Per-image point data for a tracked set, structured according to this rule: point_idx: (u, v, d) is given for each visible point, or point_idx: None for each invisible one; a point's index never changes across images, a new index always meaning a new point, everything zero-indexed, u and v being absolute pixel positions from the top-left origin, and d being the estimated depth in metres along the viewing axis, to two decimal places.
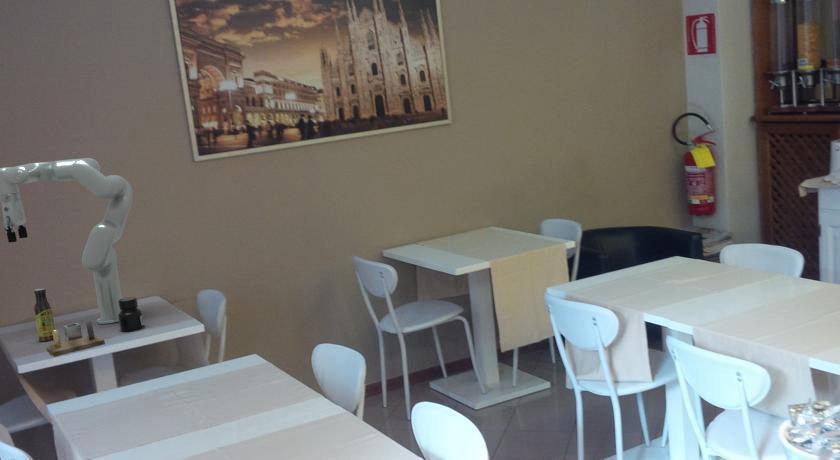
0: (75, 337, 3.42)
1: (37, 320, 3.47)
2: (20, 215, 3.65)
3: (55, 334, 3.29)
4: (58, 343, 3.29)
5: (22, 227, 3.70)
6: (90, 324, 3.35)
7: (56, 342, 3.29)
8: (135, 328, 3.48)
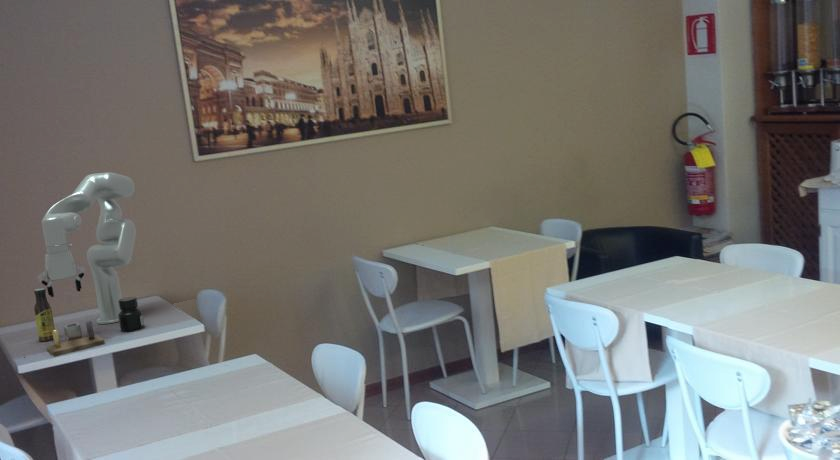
0: (75, 337, 3.42)
1: (37, 320, 3.47)
2: None
3: (55, 334, 3.29)
4: (58, 343, 3.29)
5: None
6: (90, 324, 3.35)
7: (56, 342, 3.29)
8: (135, 328, 3.48)
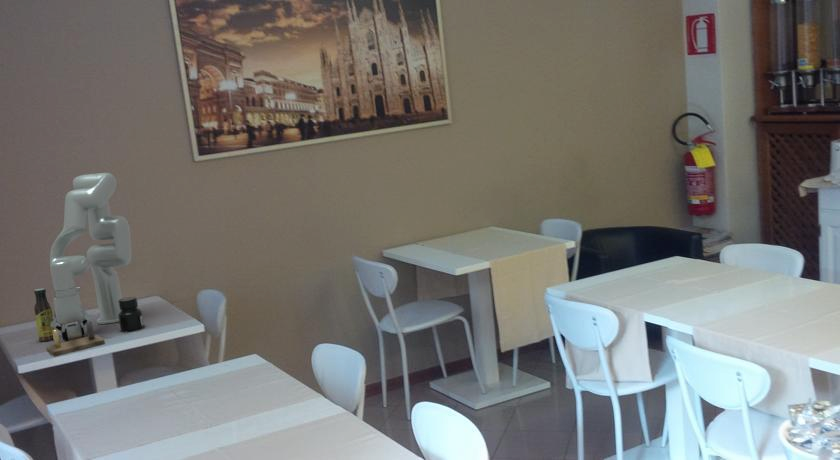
0: (75, 337, 3.42)
1: (37, 320, 3.47)
2: None
3: (55, 334, 3.29)
4: (58, 343, 3.29)
5: (64, 329, 3.42)
6: (90, 324, 3.35)
7: (56, 342, 3.29)
8: (135, 328, 3.48)
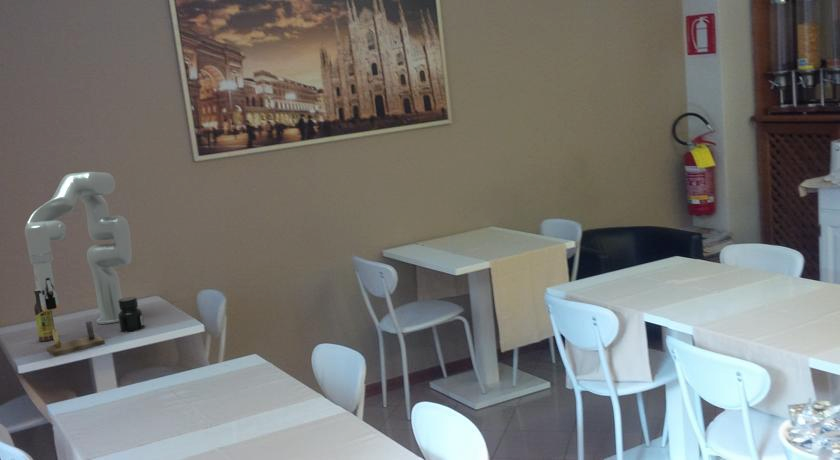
0: None
1: (37, 320, 3.47)
2: (36, 280, 3.25)
3: (55, 334, 3.29)
4: (58, 343, 3.29)
5: None
6: (90, 324, 3.35)
7: (56, 342, 3.29)
8: (135, 328, 3.48)
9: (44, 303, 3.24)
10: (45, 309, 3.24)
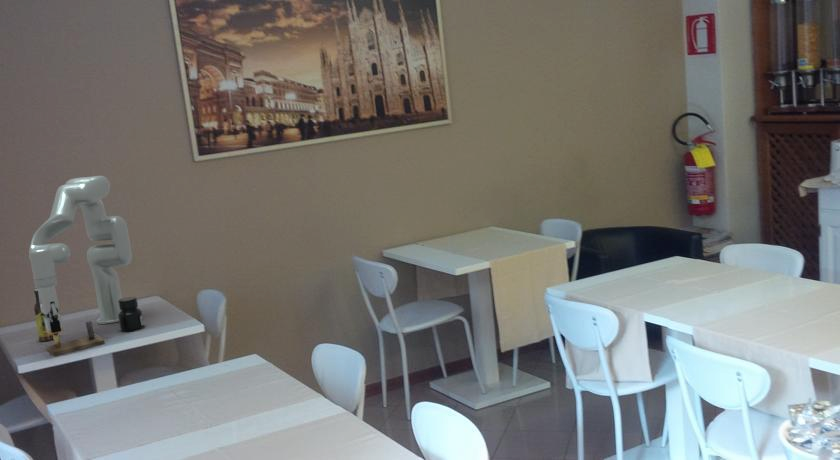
0: None
1: (37, 320, 3.47)
2: (41, 303, 3.26)
3: (55, 334, 3.29)
4: (58, 343, 3.29)
5: None
6: (90, 324, 3.35)
7: (56, 342, 3.29)
8: (135, 328, 3.48)
9: (49, 326, 3.26)
10: (50, 332, 3.26)
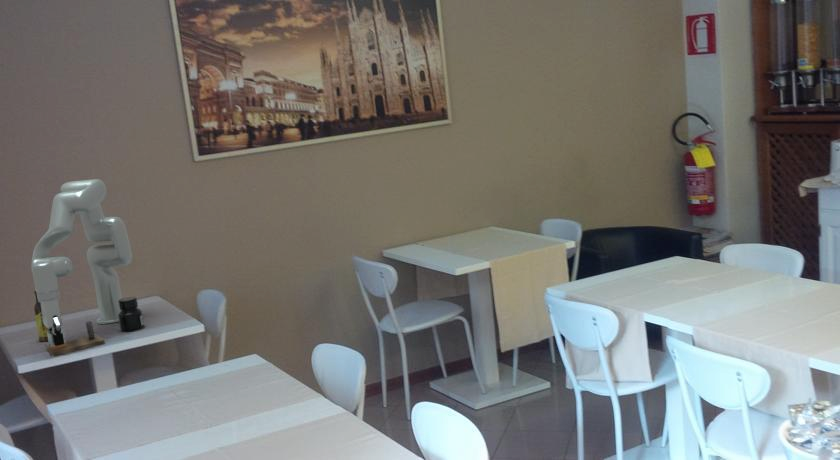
0: None
1: (37, 320, 3.47)
2: (44, 317, 3.27)
3: None
4: None
5: None
6: (90, 324, 3.35)
7: None
8: (135, 328, 3.48)
9: (52, 342, 3.27)
10: (53, 348, 3.27)
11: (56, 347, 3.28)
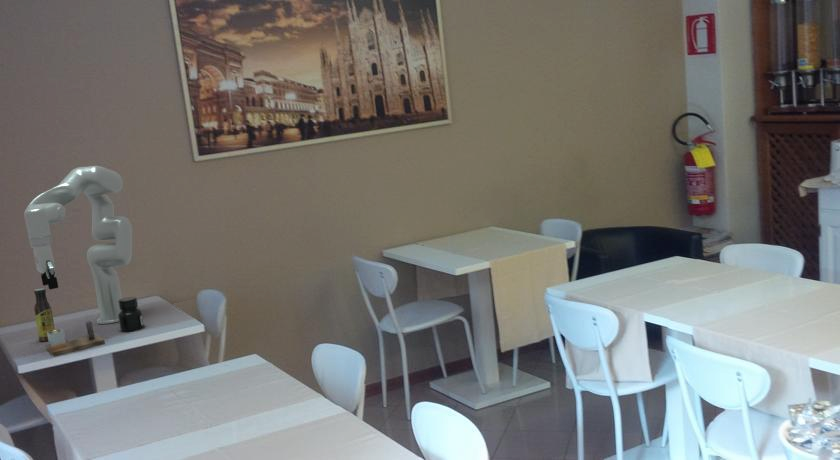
0: None
1: (37, 320, 3.47)
2: (37, 262, 3.29)
3: None
4: None
5: None
6: (90, 324, 3.35)
7: None
8: (135, 328, 3.48)
9: (52, 342, 3.27)
10: (53, 348, 3.27)
11: (56, 347, 3.28)
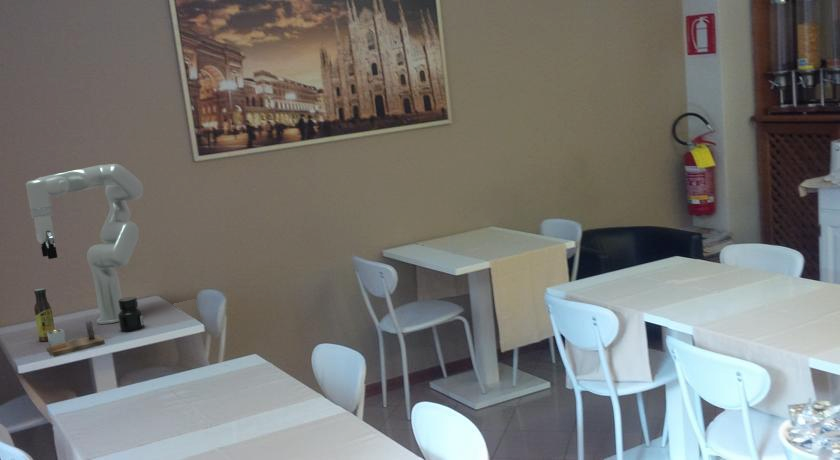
0: None
1: (37, 320, 3.47)
2: (37, 233, 3.40)
3: None
4: None
5: None
6: (90, 324, 3.35)
7: None
8: (135, 328, 3.48)
9: (52, 342, 3.27)
10: (53, 348, 3.27)
11: (56, 347, 3.28)
